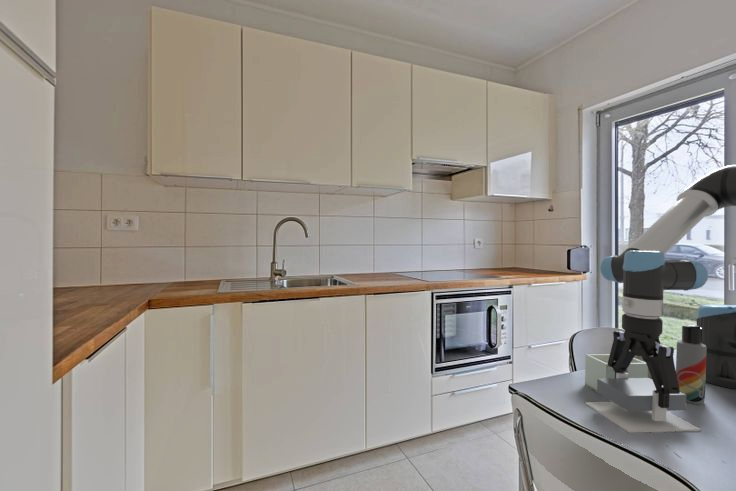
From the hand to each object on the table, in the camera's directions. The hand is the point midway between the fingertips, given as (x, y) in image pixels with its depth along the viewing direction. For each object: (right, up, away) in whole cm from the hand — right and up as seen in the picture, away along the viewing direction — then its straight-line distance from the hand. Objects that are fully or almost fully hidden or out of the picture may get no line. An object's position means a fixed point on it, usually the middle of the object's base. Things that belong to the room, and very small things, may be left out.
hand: (639, 408), depth 80 cm
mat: (0, -2, 0) cm, 2 cm away
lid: (0, +2, 0) cm, 2 cm away
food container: (+18, -2, +21) cm, 28 cm away
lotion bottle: (+21, -2, +9) cm, 23 cm away
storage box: (+4, -2, +14) cm, 15 cm away
